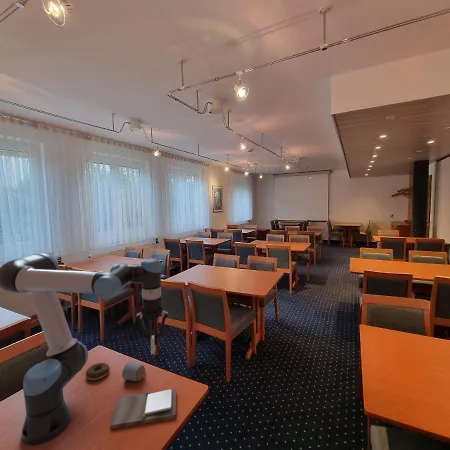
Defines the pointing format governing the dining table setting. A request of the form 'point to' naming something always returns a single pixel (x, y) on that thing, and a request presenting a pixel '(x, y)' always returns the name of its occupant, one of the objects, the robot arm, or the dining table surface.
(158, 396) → the tile
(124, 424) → the hinge board
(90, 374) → the donut
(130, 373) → the ceramic mug
